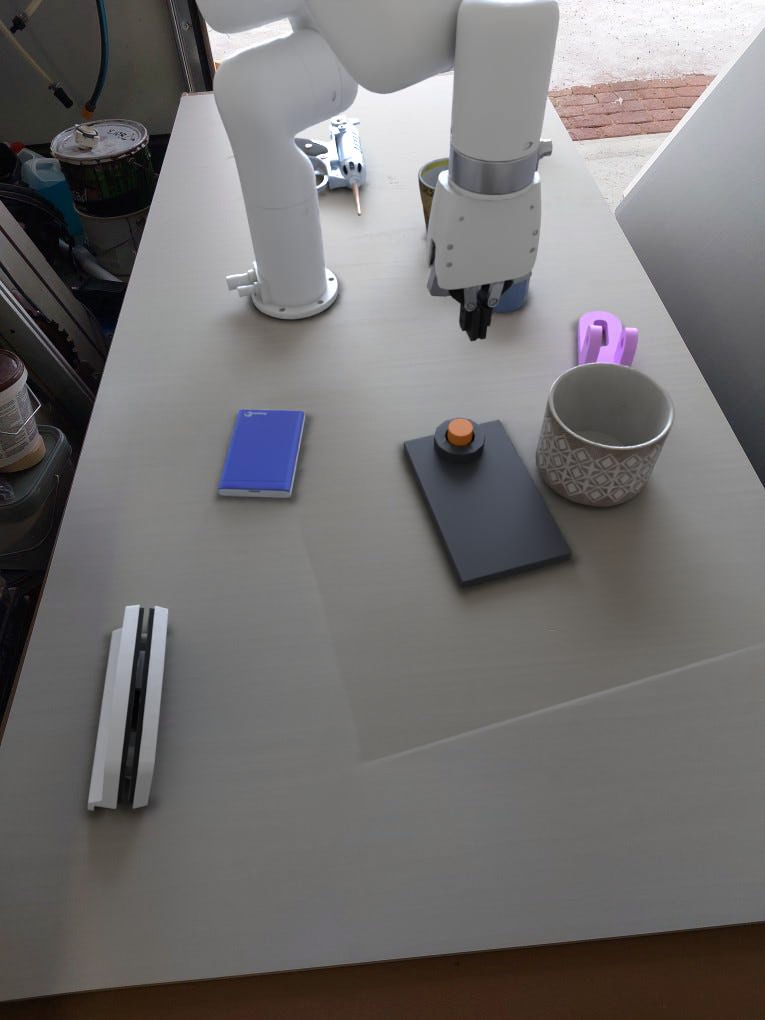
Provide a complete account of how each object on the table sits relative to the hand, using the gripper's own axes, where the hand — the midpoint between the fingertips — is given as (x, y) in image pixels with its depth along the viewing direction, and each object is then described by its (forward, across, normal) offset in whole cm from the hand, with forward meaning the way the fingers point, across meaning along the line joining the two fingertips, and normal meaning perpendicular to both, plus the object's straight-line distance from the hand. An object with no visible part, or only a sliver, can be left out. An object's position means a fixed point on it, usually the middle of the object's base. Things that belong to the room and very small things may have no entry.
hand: (473, 332), depth 74 cm
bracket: (+13, -21, -7) cm, 26 cm away
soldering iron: (+14, +5, -61) cm, 63 cm away
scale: (+13, +2, +13) cm, 18 cm away
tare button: (+10, +3, +5) cm, 12 cm away
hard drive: (+13, +25, -1) cm, 28 cm away
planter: (+13, -11, +12) cm, 21 cm away
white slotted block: (+13, +40, +28) cm, 51 cm away
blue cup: (+13, -13, -22) cm, 28 cm away
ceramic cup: (+14, -11, -40) cm, 43 cm away
